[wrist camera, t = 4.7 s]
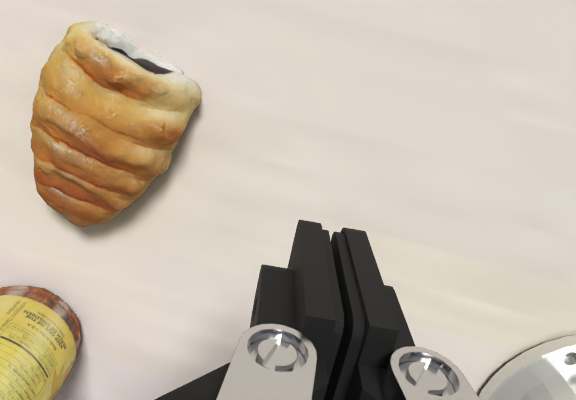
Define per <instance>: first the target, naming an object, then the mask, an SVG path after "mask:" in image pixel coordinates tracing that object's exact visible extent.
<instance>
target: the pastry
mask: <svg viewBox="0 0 576 400" xmlns="http://www.w3.org/2000/svg"><path fill="white" fill-rule="evenodd" d="M201 96H202V92H201V89H200V87H199V85H198V83H197V82H196V81H195V80H193V79H191V78H189V77H187V76H185V75H184V72H183V71H182V70H181V69H180V68H179V67H178V66H176V65H175V64H173V63H171V62H170V61H168V60H167V59H165V58H162V57H159V56H156V55H155V54H153V53H151V52H148V51H145V50H142V49H140V48H138V47H137V46H136V45H135V44H134V43H133V42H132V40H131V39H130V38H129V37H128V36H127V35H125V34H124V33H123V32H121V31H119V30H116V29H114V28H113V27H111V26H109V25H108V24H104V23H98V22H82V23H76V24H73V25H72V26H70V27H69V28H68V30H67V34H66V36H65V37H64V39H63V40H62V42H61V43H60V44H58V45H57V46H56V47H55V49H54V51H53V52H52V53H51V55H50V57H49V59H48V61H47V63H46V64H45V65H44V67H43V69H42V70H41V75H40V81H39V88H38V91H37V94H36V96H35V99H34V102H33V116H32V120H31V123H30V128H31V131H32V139H31V148H32V151H33V153H34V177H35V183H36V188H37V192H38V193H39V195H40V196H41V197H42V199H43V200H44V201H45V202H46V203H47V204H48V205H49V206H50V207H52V208H53V209H55V210H56V211H58V212H59V213H61V214H63V215H64V216H66V217H67V218H68V219H69V220H70V221H71V222H72V223H73V224H75V225H77V226H81V227H85V226H90V225H93V224H99V223H105V222H107V221H110V220H112V219H114V218H115V217H116V216H117V215H118V214H119V213H120V212H121V211H122V210H123V209H125V208H127V207H128V206H129V205H130V204H131V203H132V202H133V201H135V200H137V199H138V198H139V197H140V196H141V195H142V194H143V193H144V192H145V190H146V189H147V188H148V186H149V185H150V183H151V182H152V181H153V180H154V179H155V178H156V177H157V176H159V175H161V174H163V173H164V172H165V171H167V169H168V168H169V166H170V163H171V156H172V152H173V150H174V149H175V147H176V145H177V144H178V141H179V139H180V137H181V136H182V134H183V132H184V130H185V128H186V126H187V124H188V121H189V119H190V117H191V115H192V113H193V111H194V110H195V109H196V108H197V107H198V105H200V103H201Z"/></svg>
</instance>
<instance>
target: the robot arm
mask: <svg viewBox="0 0 576 400" xmlns="http://www.w3.org/2000/svg"><path fill="white" fill-rule="evenodd" d="M155 400H576V335H571V336H565V337H562V338H558V339H555V340H552V341H548V342H545V343H543V344H540V345H538V346H536V347H534V348H532V349H529V350H527V351H525V352H524V353H522V354H521V355H519V356H517V357H516V358H514V359H513V360H511V361H510V362H508V363H507V364H506V365H505V366H504V367H502V368H501V369H500V370H499V371H498V372H497V373H496V374H495V375H494V376H493V377H492V378H491V379H490V380H489V382H488V383H487V384H486V386H485V387H484V388H483V389H482V391H481V393H480V395H479V397H478V396H477V394H476V393H475V391H474V390H473V388H472V387H471V385H470V384H469V382H468V380H467V379H466V377H465V376H464V374H463V373H462V372H461V371H460V370H459V368H458V367H457V366H456V365H455V364H453V363H452V362H451V361H450V360H448V359H447V358H446V357H444V356H442V355H440V354H438V353H437V352H434V351H431V350H428V349H426V348H421V347H415V344H414V341H413V339H412V336H411V333H410V331H409V328H408V325H407V323H406V320H405V317H404V315H403V312H402V309H401V307H400V304H399V301H398V299H397V296H396V293H395V291H394V289H393V287H391V286H386V285H384V284H383V281H382V278H381V275H380V272H379V269H378V266H377V263H376V260H375V258H374V255H373V252H372V249H371V246H370V243H369V240H368V237H367V234H366V232H365V231H360V230H355V229H349V228H343V229H342V230H341V233H339V232H334V233H333V235H332V239H331V242H330V236H329V231H328V230H322V226H321V223H315V222H310V221H304V220H299V222H298V225H297V229H296V233H295V237H294V242H293V246H292V251H291V255H290V260H289V264H288V268H287V269H286V268H280V267H274V266H269V265H263V264H262V266H261V270H260V274H259V279H258V284H257V289H256V294H255V299H254V305H253V311H252V317H251V324H250V329H248V330H247V331H245V332H244V333H243V335H242V336H241V338H240V339H239V342H238V345H237V347H236V350H235V352H234V355H233V358H232V360H231V362H230V363H228V364H226V365H224V366H222V367H220V368H218V369H216V370H214V371H212V372H210V373H208V374H206V375H204V376H202V377H200V378H198V379H196V380H194V381H192V382H190V383H187V384H185V385H183V386H181V387H179V388H177V389H175V390H173V391H171V392H169V393H167V394H165V395H163V396H161V397H159V398H157V399H155Z"/></svg>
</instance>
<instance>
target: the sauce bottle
mask: <svg viewBox="0 0 576 400" xmlns="http://www.w3.org/2000/svg"><path fill="white" fill-rule="evenodd" d="M80 341H81V335H80V324H79V322H78V319H77V317H76V316H75V314H74V312H73V311H72V310H71V309H70V307H69V306H68V305H67V304H66V303H65V302H64V301H62V300H61V299H60V298H59V297H58V296H56V295H54V294H53V293H51V292H50V291H48V290H46V289H44V288H38V287H32V286H12V287H10V286H8V287H2V288H0V400H54V398H55V396H56V395H57V393H58V391H59V389H60V388H61V386H62V384H63V383H64V381H65V379H66V378H67V376H68V374H69V372H70V371H71V369H72V367H73V364H74V361H75V358H76V357H77V355H78V352H79V351H78V349H79V345H80Z"/></svg>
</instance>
